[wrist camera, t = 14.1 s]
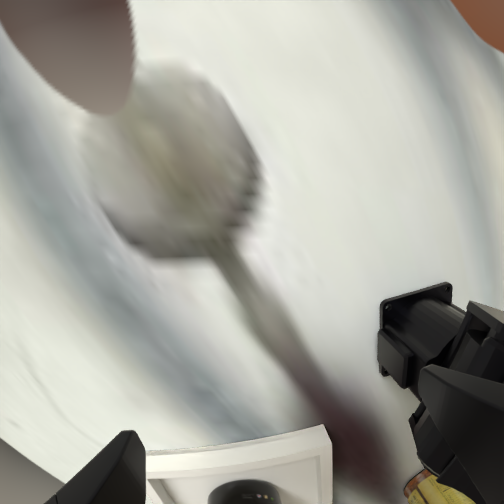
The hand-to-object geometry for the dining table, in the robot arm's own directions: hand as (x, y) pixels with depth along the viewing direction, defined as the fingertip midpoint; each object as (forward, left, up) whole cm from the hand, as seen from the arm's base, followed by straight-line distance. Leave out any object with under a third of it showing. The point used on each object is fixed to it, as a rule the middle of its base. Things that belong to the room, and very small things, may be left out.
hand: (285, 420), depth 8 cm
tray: (+4, +21, -12) cm, 25 cm away
